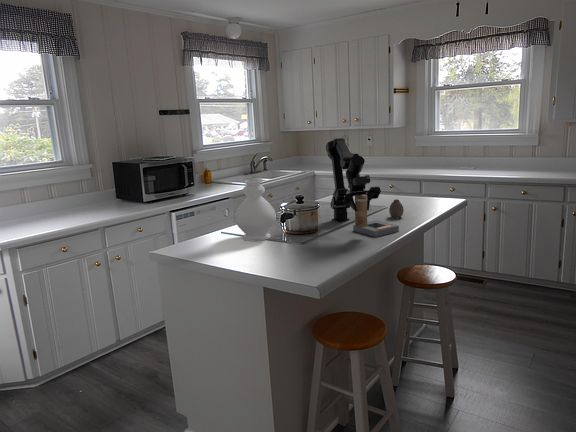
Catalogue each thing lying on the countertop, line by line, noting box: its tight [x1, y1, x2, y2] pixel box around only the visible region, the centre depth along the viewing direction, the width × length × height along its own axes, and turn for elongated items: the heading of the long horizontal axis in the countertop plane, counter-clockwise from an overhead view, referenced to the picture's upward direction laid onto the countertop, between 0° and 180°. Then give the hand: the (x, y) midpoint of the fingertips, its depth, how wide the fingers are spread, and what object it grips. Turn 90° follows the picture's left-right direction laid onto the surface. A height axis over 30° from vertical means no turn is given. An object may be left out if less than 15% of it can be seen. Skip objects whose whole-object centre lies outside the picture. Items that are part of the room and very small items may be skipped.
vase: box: [388, 198, 404, 219], centre depth 228 cm, size 7×7×9 cm
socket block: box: [352, 219, 400, 238], centre depth 205 cm, size 14×14×3 cm
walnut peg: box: [354, 194, 368, 227], centre depth 194 cm, size 5×5×13 cm
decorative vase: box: [234, 179, 277, 242], centre depth 201 cm, size 18×18×25 cm
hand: (362, 210), depth 192 cm, fingers closed on walnut peg, 5 cm apart
